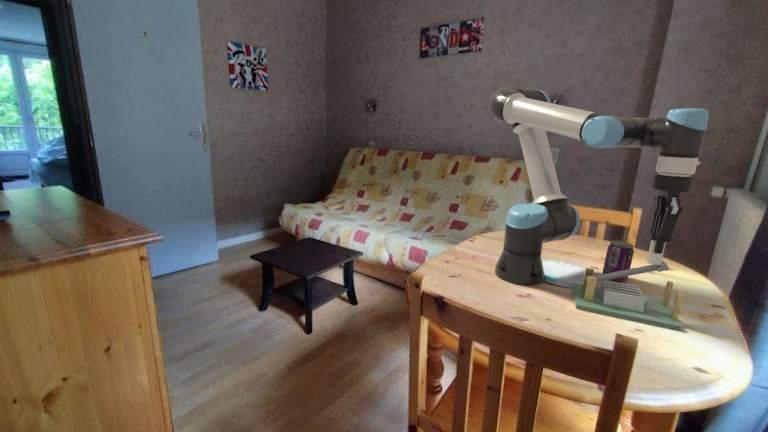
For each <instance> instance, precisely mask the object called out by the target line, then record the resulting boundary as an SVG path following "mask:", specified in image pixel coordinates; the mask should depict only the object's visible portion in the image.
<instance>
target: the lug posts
mask: <svg viewBox="0 0 768 432" xmlns="http://www.w3.org/2000/svg"><path fill="white" fill-rule="evenodd" d="M594 272H595V269H594V268H590V267H585V270H584V275H583V280H582V284H583V285H582V291H585V294H584V300H586V301H591V302H592V299H593V295H594V290H595V287H596V284H597V282H596V280H597V278H596V277H592V276H594ZM587 275H591V276H588V279H587V280H586V276H587ZM673 288H674V282H673V281H671V280H667V282H666V286H665V289H664V293H663V297H662V299H663V300H662V304H663V305H665V306H667V305H668V306H669V301H670V297H671V294H672V291H673ZM683 300H684V294H682V293H676V296H675V300H674V303H673V307H672V309H671V310H672V314H671V319H672V320H678V317H679V315H680V310H681V308H682V307H681V306H682V304H683Z"/></svg>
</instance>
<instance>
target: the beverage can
mask: <svg viewBox="0 0 768 432" xmlns="http://www.w3.org/2000/svg"><path fill="white" fill-rule="evenodd" d="M634 253H635V251H634V245H633V244H632V243H630V242H628V241H621V240H611V241H610V244H609V245H608V246H607V249H606V254H605V259H604V263H603V269H602V273H601V275H602V274H607V273H612V272H617V271H622V270H628V269H631V267H632V262H633V257H634ZM628 279H629V276H625V277H620V278H614V279H610V281H614V282H615V281H616V282H622V281H627V280H628Z"/></svg>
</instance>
